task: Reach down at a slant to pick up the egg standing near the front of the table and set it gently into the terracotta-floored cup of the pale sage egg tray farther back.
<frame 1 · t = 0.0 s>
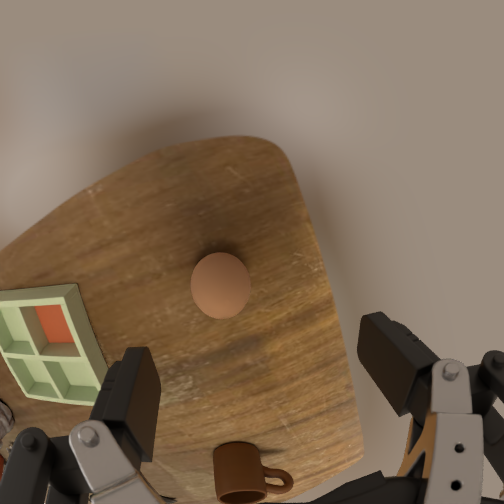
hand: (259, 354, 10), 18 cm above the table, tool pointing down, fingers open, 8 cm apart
egg: (219, 268, 28), on the table
mug: (248, 451, 38), on the table
egg tray: (49, 342, 27), on the table
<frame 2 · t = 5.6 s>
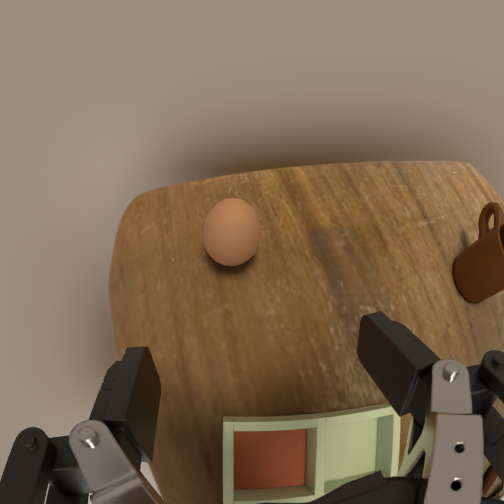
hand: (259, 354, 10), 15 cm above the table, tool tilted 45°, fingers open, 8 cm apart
egg: (230, 253, 29), on the table
mug: (466, 265, 32), on the table
egg tray: (307, 485, 19), on the table
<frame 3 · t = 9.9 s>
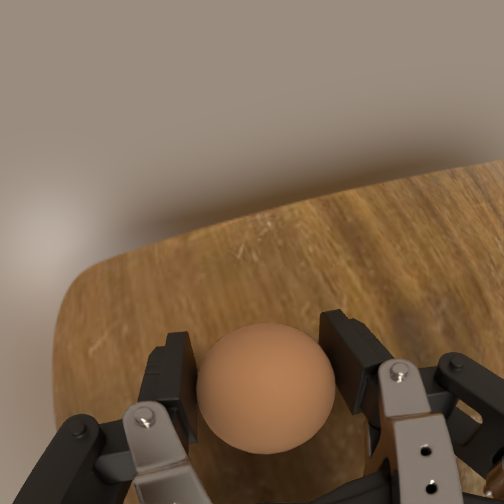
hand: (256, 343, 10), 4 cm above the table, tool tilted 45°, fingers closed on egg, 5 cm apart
egg: (258, 389, 13), on the table, touching gripper
when the fingers open (5 cm above the table, at t = 18.4 s): egg stays where it is, resting on egg tray.
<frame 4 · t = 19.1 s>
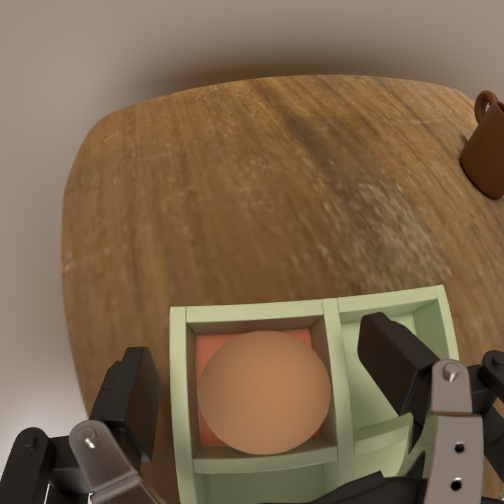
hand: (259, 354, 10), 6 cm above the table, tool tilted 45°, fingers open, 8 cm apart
egg: (257, 392, 14), point 1 cm above the table, touching egg tray
mug: (474, 163, 26), on the table
egg tray: (325, 440, 13), on the table
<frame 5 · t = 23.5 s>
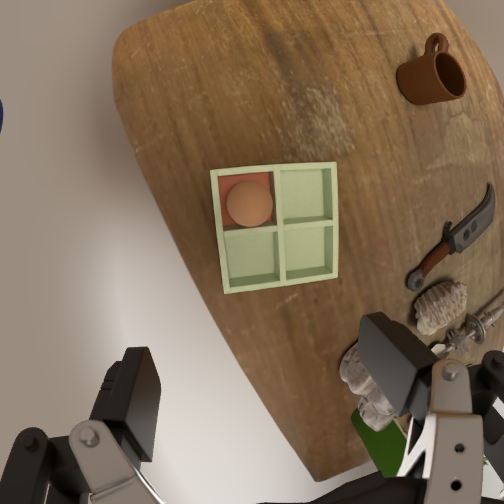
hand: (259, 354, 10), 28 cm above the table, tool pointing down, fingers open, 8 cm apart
wine bottle: (367, 410, 54), on the table
seashell: (432, 301, 47), on the table
egg: (245, 199, 36), point 1 cm above the table, touching egg tray
knife: (455, 231, 43), on the table
mug: (412, 73, 33), on the table
figurine: (361, 355, 47), on the table
egg tray: (274, 222, 37), on the table
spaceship: (465, 321, 51), on the table
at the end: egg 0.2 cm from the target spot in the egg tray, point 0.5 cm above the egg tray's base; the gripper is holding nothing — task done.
